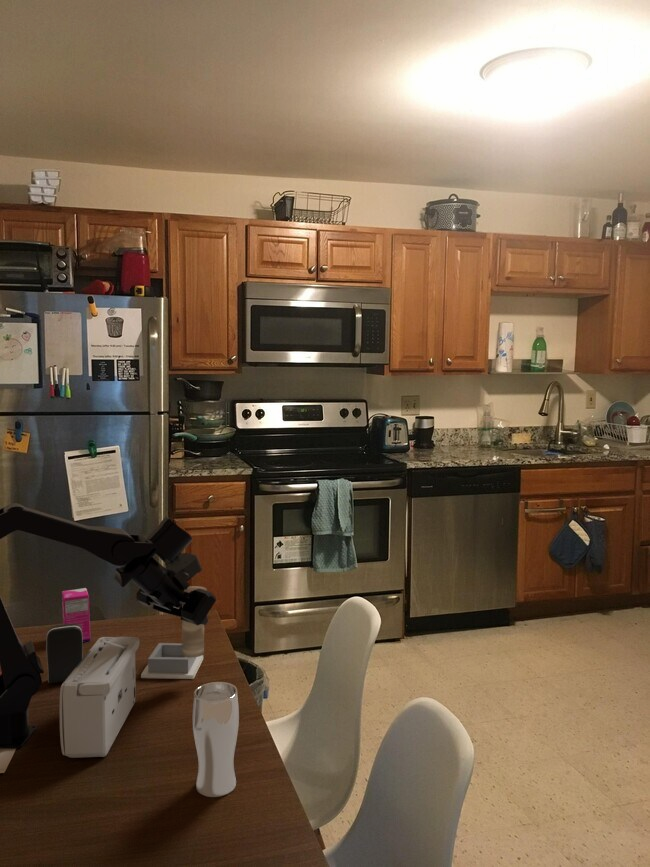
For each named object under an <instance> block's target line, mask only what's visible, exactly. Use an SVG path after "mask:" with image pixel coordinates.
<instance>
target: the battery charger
mask: <svg viewBox="0 0 650 867" xmlns="http://www.w3.org/2000/svg"><path fill="white" fill-rule="evenodd" d="M45 650H46V662H47V683H48V684H50V685H51V684H59V683H60V684H61V683H64V681H65V680H66V679H67V678H68V676H69V675H70V674H71V673H72V672H73V670H74V669H75V668H76V667H77V665H78V664H79V663H80V662H81V660H82V659H83V658H84V657H83V655H84V652H83V651H84V642H83V636H82V630H81V627H80V626H79V625H78V624H63V623H62V624H58V625H57V624H56V625H53V626H51V627H49V628H48V630H47V633H46V645H45Z"/></svg>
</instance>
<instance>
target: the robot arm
mask: <svg viewBox="0 0 650 867" xmlns="http://www.w3.org/2000/svg"><path fill="white" fill-rule="evenodd" d="M15 531H21V532H24V533H27V534H31V535H35V536H38V537H42V538H45V539H49V540H52V541H55V542H60V543H63V544H65V545H66V544H67V545H70V546H74V547H77V548H79V549H83V550H85V551H87V552H88V553H90V554H92V555H93V556H96V557H98V558H99V559H102V560H103V561H105V562H108V563H110V564H111V565H113V566H118V567H116V568H115V574H114V581H116V583H118V585H119V586H120V587H122V588H125V587H126V586H127V585H128V584H129V583H130V581H131V582H132V583H133V584H134V585H135V586H137V587H138V588H139V589H138V591H137V592H136V601H137V602H139V603H140V604H141V605H143V606H145V607H148V608H150V607H151V606H152V604H153V606H152V608H153V610H155V611H158V612H161V613H164V614H168V615H171V616H176V617H180V620H181V621H182V620H184V621H186V622H189V623H193V624H195V625H200V624H203V625H204V626H205V625H207V624H208V622H209V619H208V616H207V615H208V614H209V613H210V610H211V609H213V606H214V605H215V602H216V601H217V597H216V596H215V595H214V594H213V593H212V592H211V591H208V590H207V591H206V590H203V589H196V590H194V591H191V592H190V593H188V592H185V591H184V590H186V589H187V588H188V587H190V586H191V585H190V583H189V581H191V579H192V578H193V577H195V576H196V575H197V574H199V573H201V572H202V570H203V568H202V565H201V564H200V563H201V562H200V560H199V559H198V556H197V555H195V554H192V553H188V552H183V551H184V550H185V549H186V548H187V547H188V546H189V545H190V544H191V542H192V541H194V539H193V537H192V536H191V535H190V534H189V533H188V532H187V531H186V530H184V529H183V528H181V527H180V526H179V525H177V524H176V523H175V522H174V521H173V520H172V519H171V518H170V517H167V516H165V517H163V519H162V520H161V521H160V523H159V525H158V526H156V527H155V529H153V531H152V532H151V533H150V534H149V535H148V536H147V537H146V536H145V535H144V534H132V533H128V532H126V531H125V529H121V528H119V527H108V526H103V525H102V526H99V525H98V526H97V525H96V526H95V525H93V526H92V525H87V524H82V523H79V522H76V521H73V520H69V519H66V518H63V517H60V516H57V515H53V514H49V513H46V512H43V511H41V510H37V509H33V508H30V507H28V506H27V507H26V506H24V505H23V504H21V503H19V502H17V503H16V502H13V503H9V504H6V505H5V506H3V507H0V540H1V539H3V538H5V537H6V536H8V535H10V534H11V533H14V532H15ZM182 552H183V553H182ZM154 556H157V557H158V558H159V559H160V560H162V562H163V563H164V565H165V567H164V566H163V564H161V562H159V561H158V560H157V559H156V558H155V557H154ZM182 604H183V608H182ZM33 643H34V642H33V641H32V640H29V641H28V642H26V643H25V644H24V643H23V642H22V640H21V639H20V638H19V637H18V635H17V633H16V629H15V627H14V625H13V623H12V620H11V618H10V615H9V613H8V611H7V608H6V606H5V603H4V601H3V599H2V596H1V595H0V670H1V671H0V672H1V673H0V748H4V749H5V748H7V749H8V748H10V749H12V748H13V749H15V748H17V749H18V748H19V749H20V748H22V746H24V744H25V743H26V742H27V741H28V740H29V739H30V737H31V736H33V734H34V732H36V730H37V729H38V726H37V725H34V724H33V725H30V724H29V705H30V702H31V700H32V697H33V696H34V695H36V694H37V692H38V691H39V690H40V688H41V687H42V682H43V681H42V680H43V679H42V676H41V674H44V673H45V670H44V669H43V668H44V667H43V665H42V662H41V659H40V657H39V656H38V655H37V652H36V650H35V647H34V644H33Z"/></svg>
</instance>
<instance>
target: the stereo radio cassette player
mask: <svg viewBox="0 0 650 867" xmlns="http://www.w3.org/2000/svg"><path fill="white" fill-rule="evenodd" d="M139 647H140V638H139V637H135V636H117V637H116V636H102V637H99V638H98V639H97V641H96V642H95V643H94V644H93V645H92V647H90V649H89V650H88V652H87V653H86V654H85V656H84V657H83V659H82V660H81V662H80V663H79V664H78V665H77V667H76V668H75V669H74V670H73V672H72V673H71V674H70V675H69V676H68V678H67V679H66V680H65V681H64V682H62V684H61V686H60V690H59V736H60V737H59V738H60V748H61V753H62V756H65V757H68V758H72V759H76V758H77V759H78V758H81V759H82V758H98V757H99V758H100V757H102V758H104V757H106V756H107V754H108V753H109V752H110V749H111V747H112V746H113V744H114V742H115V740H116V739H117V736H118V734H119V732H120V730H121V729H122V727H123V725H124V723H125V721H126V720H127V718H128V716H129V714H130V712H131V710H132V709H133V707H134V705H135V704H136V697H137V691H136V684H137V682H136V652H137V650H138V649H139Z"/></svg>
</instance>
